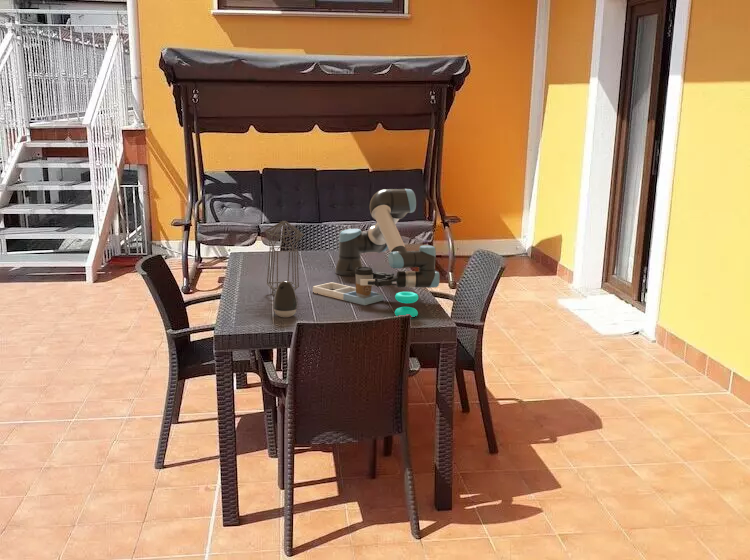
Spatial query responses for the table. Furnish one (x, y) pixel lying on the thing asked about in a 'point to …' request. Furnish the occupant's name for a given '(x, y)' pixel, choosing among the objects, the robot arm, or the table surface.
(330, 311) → the table surface
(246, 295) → the table surface
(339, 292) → the gap frame
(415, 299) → the donuts
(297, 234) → the geometric lantern
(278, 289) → the pump dispenser
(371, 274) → the coffee cup
